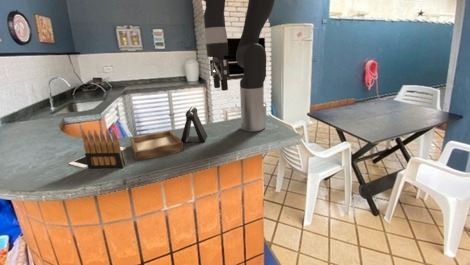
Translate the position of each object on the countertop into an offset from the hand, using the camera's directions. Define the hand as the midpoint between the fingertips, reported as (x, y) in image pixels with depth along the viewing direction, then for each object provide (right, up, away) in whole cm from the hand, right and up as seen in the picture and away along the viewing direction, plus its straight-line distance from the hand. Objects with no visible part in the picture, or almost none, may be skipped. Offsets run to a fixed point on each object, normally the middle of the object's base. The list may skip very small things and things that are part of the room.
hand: (220, 89), depth 91 cm
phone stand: (-10, -19, +2) cm, 22 cm away
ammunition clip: (-33, -27, -16) cm, 46 cm away
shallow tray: (-22, -21, -4) cm, 31 cm away
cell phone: (-40, -24, -8) cm, 48 cm away
